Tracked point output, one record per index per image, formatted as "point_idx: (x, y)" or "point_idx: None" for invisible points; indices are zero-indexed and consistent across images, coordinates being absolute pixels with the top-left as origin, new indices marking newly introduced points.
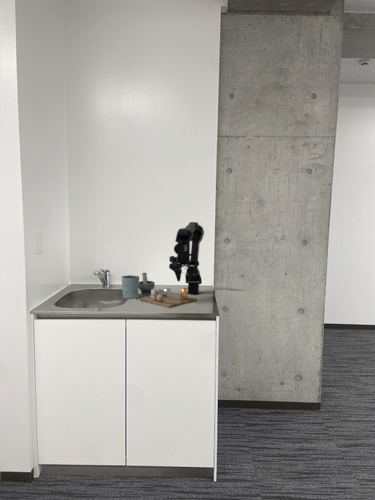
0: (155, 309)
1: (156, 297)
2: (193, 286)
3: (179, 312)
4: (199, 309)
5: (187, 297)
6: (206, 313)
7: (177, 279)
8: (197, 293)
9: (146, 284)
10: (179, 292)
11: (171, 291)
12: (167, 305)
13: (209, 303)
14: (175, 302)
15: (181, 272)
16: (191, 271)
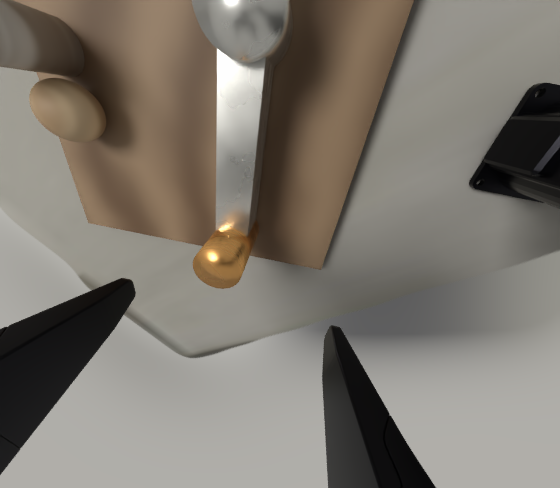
0: (20, 177)
1: (49, 71)
2: (552, 189)
3: (100, 283)
4: (190, 318)
5: (309, 216)
6: (170, 345)
7: (98, 293)
8: (508, 195)
9: None
10: (246, 198)
11: (232, 108)
12: (86, 213)
13: (295, 318)
14: (160, 218)
15: (10, 459)
16: (337, 476)
